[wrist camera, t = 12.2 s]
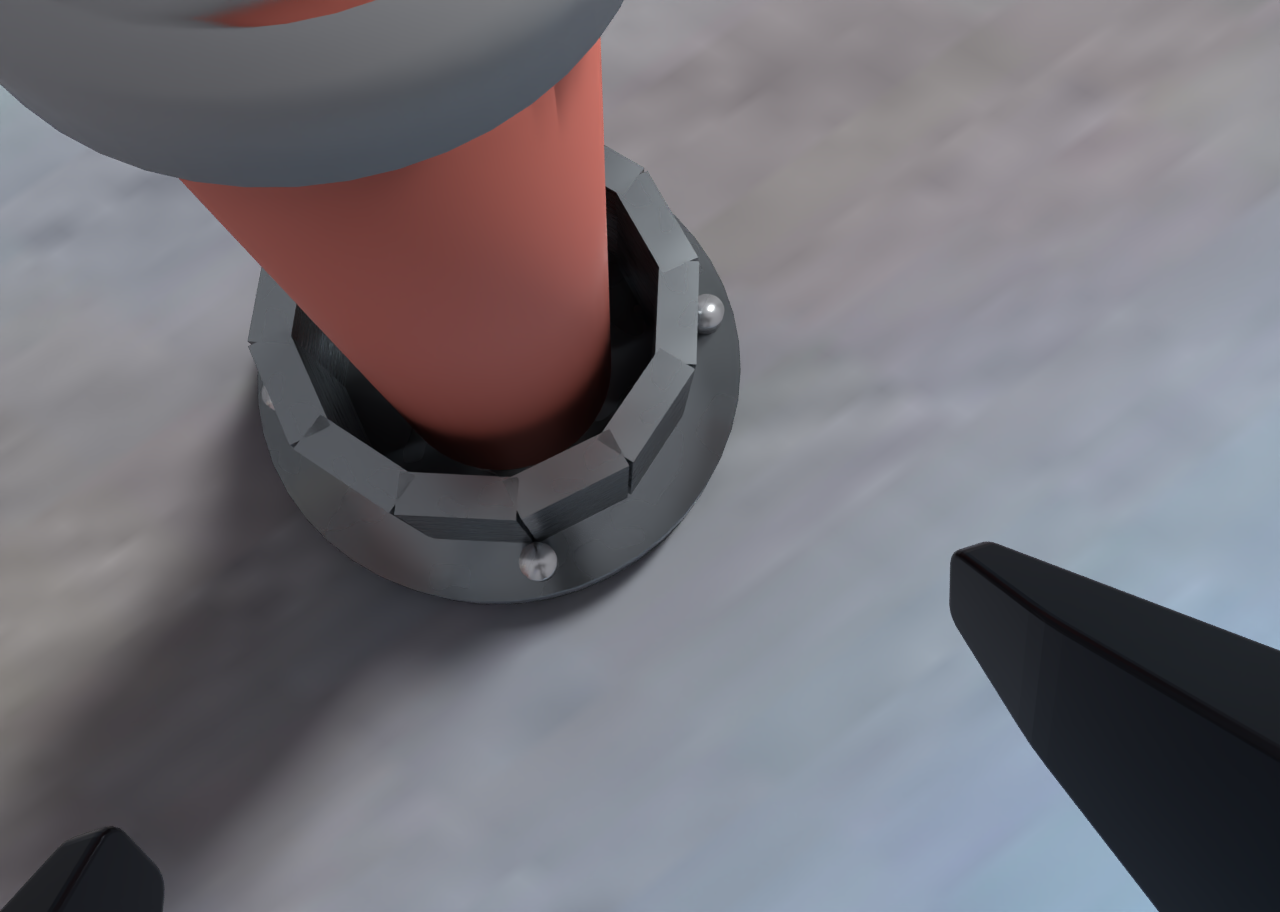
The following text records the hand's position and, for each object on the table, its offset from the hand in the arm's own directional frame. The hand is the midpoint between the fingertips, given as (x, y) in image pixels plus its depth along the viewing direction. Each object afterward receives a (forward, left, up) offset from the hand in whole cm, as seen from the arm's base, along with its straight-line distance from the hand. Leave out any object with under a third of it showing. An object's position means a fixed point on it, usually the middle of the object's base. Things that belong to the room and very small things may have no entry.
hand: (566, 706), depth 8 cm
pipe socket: (+5, +6, -9) cm, 12 cm away
